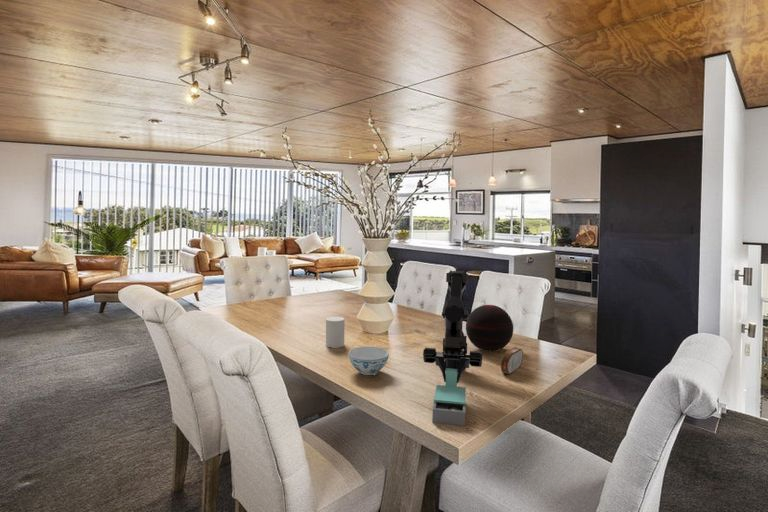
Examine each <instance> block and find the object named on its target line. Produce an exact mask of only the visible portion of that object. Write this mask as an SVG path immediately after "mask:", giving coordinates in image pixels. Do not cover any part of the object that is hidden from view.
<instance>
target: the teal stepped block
mask: <svg viewBox="0 0 768 512" xmlns="http://www.w3.org/2000/svg"><path fill="white" fill-rule="evenodd" d="M445 372H446V382H445V385H443V384H436V387H435V391H434V398H433V403H434V402H443V403H453V404H464V405H465V406H466V396H467V395H466V391H467V389H466V388H467V387H466V386H458V383H457V375H458V372H457V369H451V368H446V369H445Z"/></svg>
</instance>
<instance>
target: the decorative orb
mask: <svg viewBox="0 0 768 512" xmlns="http://www.w3.org/2000/svg"><path fill="white" fill-rule="evenodd" d="M465 332H466V336H467V338H468V340H469V341H470V343H471V344H472V345H474V347H475V348H477V349H479V350H480V351H485V352H496V351H500V350H502V349H504V348H506V347H507V345H508V344H509V343H510V342H511V340H512V338H513V336H514V335H513V334H514V324H513V321H512V317H511V316H510V315H509V314H508V312H507V311H505V309H503V308H502V307H500V306H498V305H493V304H484V305H480V306H478V307H477V308H474V309H473V310H472V311H471V312H470V313H469V315H468V316H467V318H466V323H465Z"/></svg>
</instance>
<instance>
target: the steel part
mask: <svg viewBox="0 0 768 512" xmlns="http://www.w3.org/2000/svg"><path fill="white" fill-rule="evenodd" d="M437 409H447V410H448V407H446V406H438V407H437Z"/></svg>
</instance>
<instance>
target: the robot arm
mask: <svg viewBox="0 0 768 512" xmlns="http://www.w3.org/2000/svg"><path fill="white" fill-rule="evenodd" d="M445 274H446V278H445V281H446V283H447V287H448V290H449V292H450V294H449V299H447V301H446V302H445V307H443V312H442V319H444V325H445V329H444V330H445V331H444V337H443V338H442V351H437V348H435V347H425V348H424V349H423V352H422V356H423V358H422V359H423V362H424V363H427V364H428V363H429V364H434V363H435V366H437V367H438V368H439V369H440V371H441V375H442V379H443V382H444V383H446V368H451V369H457V384H459V382H460V380H461V378H462V375H463V373H464V371H465V370H466V369H469V368H470V366H471V367H476V368H477V367H478V368H480V367H482V365H483V353H482V352H481V351H479V350H478V351H477V350H476V351H474V350H470V351H469V354H468V342H467V338H468V336H467V335H465V334H464V330H463V322H464V320H467V319H468V311H467V309H466V308H465V302H464V301H463V300H462V294H463V292H464V290H466V287H467V285H466V284H468V280H469V279H468V278H469V277H468V276H469V274H468V273H466V272H465V270H464V271H462V270H460V271H459V270H449V271H448V272H446V273H445Z"/></svg>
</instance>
